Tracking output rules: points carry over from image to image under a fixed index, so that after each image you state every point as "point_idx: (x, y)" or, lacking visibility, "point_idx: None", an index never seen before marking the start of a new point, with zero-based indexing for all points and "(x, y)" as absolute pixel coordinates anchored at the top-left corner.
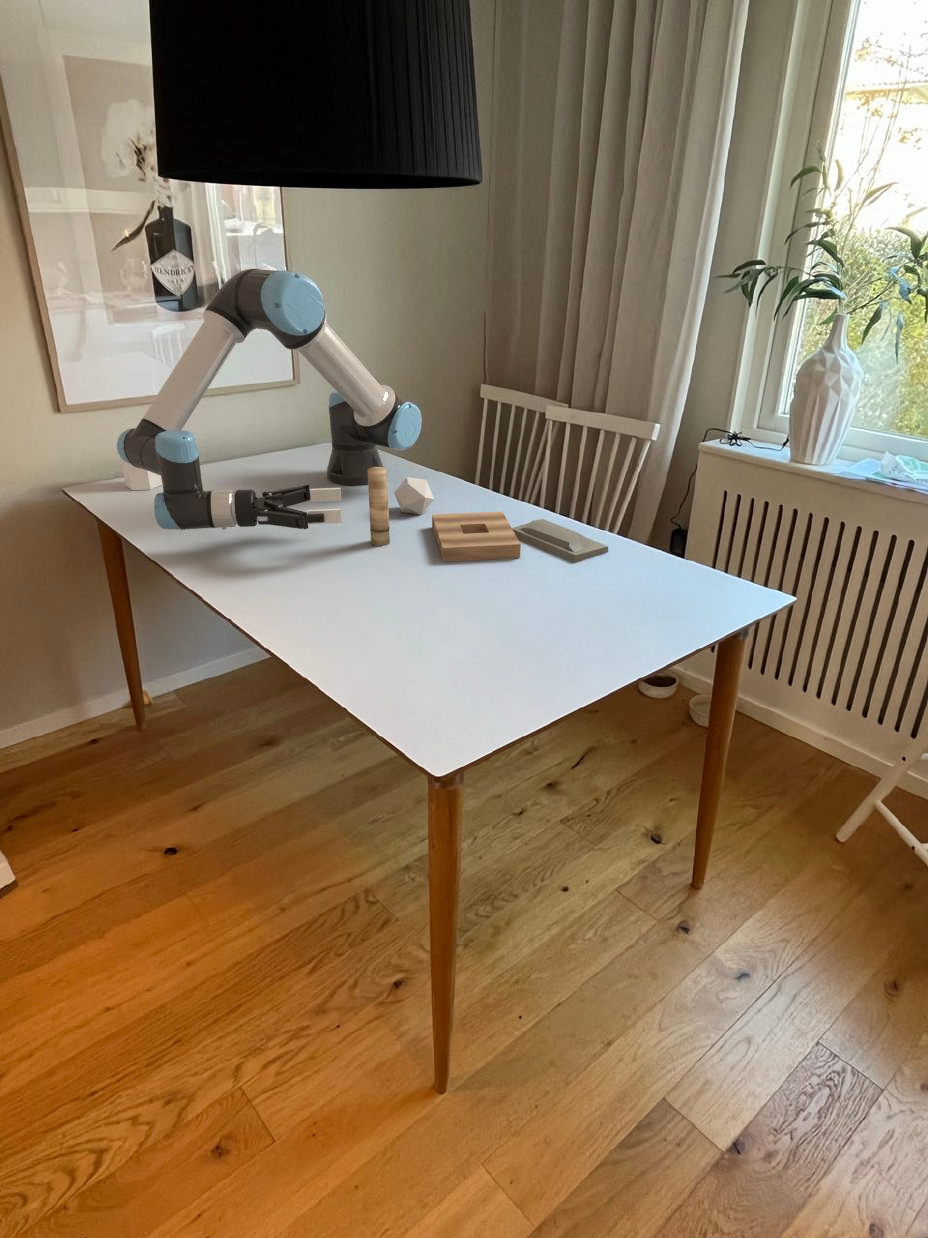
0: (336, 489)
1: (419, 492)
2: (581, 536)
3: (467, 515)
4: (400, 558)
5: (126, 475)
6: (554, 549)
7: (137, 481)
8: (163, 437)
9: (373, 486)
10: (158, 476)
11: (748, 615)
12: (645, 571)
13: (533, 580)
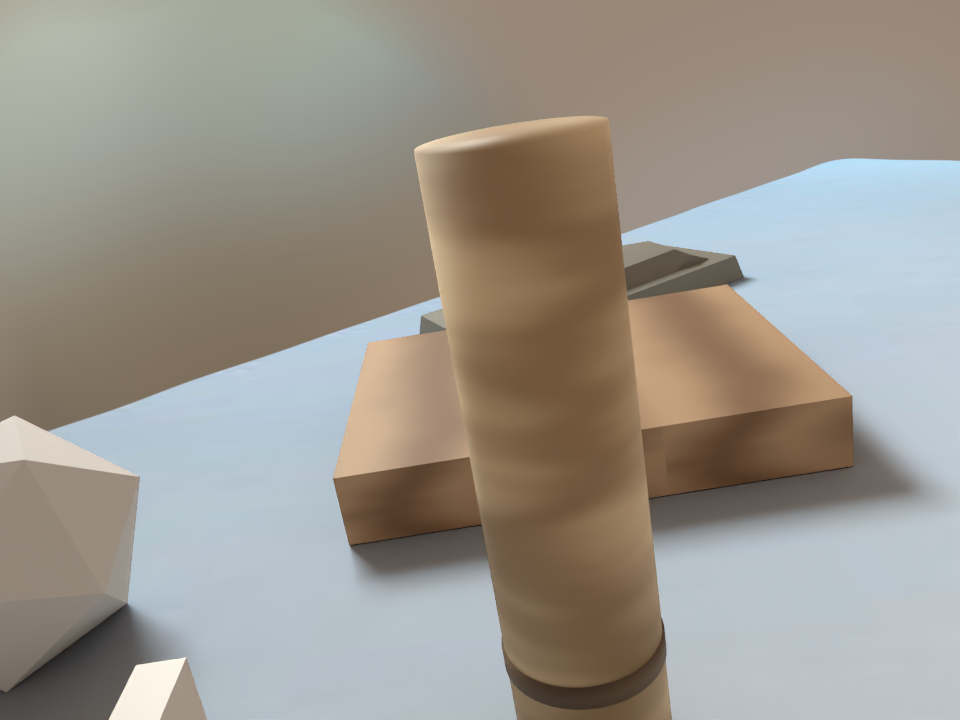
0: (170, 707)
1: (100, 471)
2: None
3: (387, 395)
4: (880, 608)
5: None
6: (673, 287)
7: None
8: None
9: (620, 271)
10: None
11: (950, 162)
12: (766, 224)
13: (930, 302)
